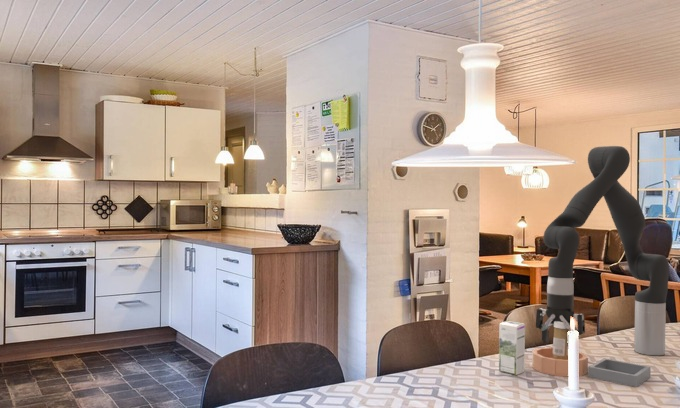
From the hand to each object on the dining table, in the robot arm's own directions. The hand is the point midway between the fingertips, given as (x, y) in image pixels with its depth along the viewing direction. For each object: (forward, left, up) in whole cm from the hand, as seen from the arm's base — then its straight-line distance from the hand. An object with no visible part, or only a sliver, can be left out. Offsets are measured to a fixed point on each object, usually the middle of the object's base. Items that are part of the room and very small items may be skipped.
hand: (559, 345), depth 179 cm
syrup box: (+13, -9, -7) cm, 17 cm away
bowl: (0, 0, -7) cm, 7 cm away
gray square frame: (-4, +16, -7) cm, 18 cm away
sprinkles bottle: (0, 0, -6) cm, 6 cm away
